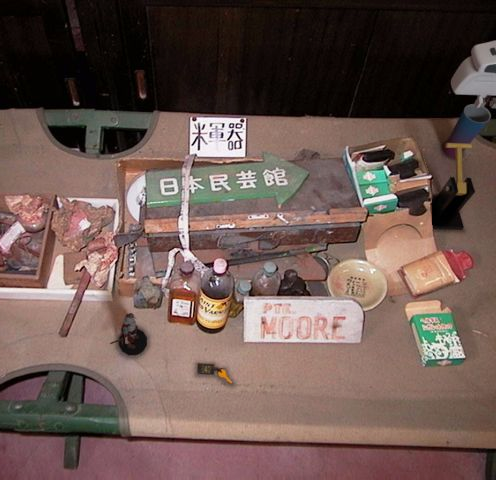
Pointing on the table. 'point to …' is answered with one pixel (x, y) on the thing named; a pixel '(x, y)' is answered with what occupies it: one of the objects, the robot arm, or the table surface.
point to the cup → (467, 127)
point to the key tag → (211, 371)
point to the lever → (459, 165)
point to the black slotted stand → (450, 205)
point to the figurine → (131, 337)
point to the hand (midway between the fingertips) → (485, 106)
